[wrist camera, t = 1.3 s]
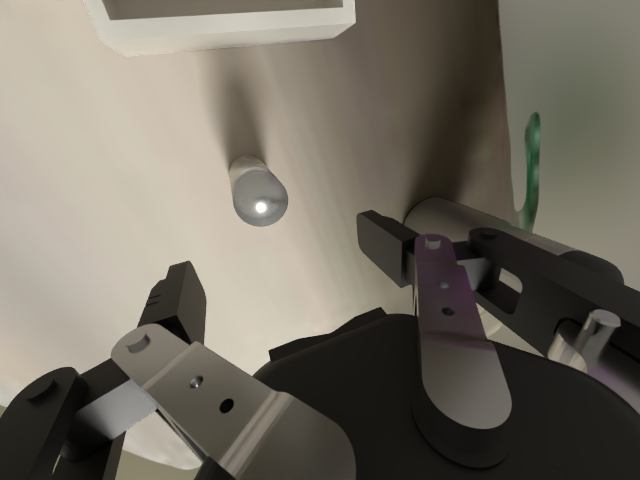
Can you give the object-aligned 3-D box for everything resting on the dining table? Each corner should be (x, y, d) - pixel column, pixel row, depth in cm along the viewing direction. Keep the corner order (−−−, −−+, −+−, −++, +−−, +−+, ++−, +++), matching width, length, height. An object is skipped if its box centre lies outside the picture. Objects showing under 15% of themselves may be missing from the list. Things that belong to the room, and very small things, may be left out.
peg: (262, 152, 27) (282, 169, 18) (271, 188, 29) (292, 219, 20) (224, 159, 26) (225, 180, 17) (235, 196, 28) (242, 232, 19)
